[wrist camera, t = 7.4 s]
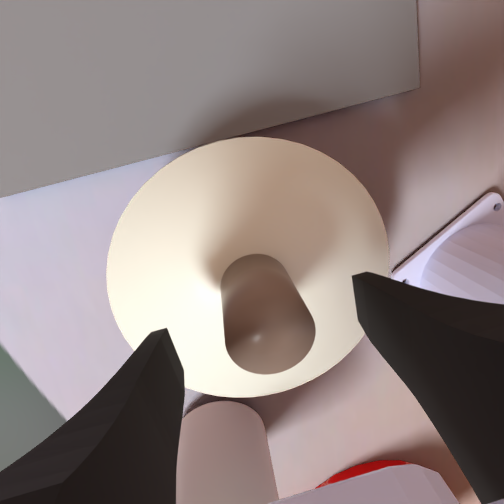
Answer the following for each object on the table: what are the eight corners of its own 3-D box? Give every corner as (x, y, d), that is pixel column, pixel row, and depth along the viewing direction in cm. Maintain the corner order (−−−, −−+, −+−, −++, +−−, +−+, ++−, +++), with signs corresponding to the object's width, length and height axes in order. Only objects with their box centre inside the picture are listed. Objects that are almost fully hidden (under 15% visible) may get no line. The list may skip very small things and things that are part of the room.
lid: (427, 275, 17) (506, 326, 13) (247, 423, 19) (259, 513, 14) (261, 62, 13) (290, 25, 8) (49, 283, 15) (-21, 350, 10)
